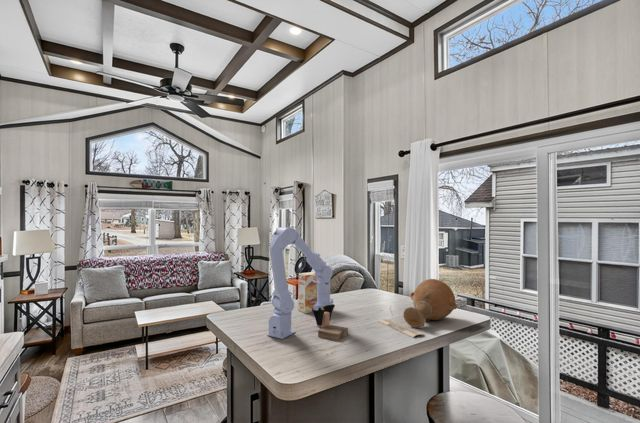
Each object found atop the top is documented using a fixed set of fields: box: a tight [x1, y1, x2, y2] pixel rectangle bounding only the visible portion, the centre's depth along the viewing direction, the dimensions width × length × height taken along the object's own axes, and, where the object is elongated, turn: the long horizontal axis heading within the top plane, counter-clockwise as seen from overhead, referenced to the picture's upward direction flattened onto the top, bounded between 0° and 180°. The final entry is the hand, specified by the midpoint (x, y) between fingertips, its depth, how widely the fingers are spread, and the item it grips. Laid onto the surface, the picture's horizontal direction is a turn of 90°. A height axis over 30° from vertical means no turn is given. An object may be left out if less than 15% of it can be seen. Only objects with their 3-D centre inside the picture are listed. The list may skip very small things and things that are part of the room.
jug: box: [402, 278, 458, 329], centre depth 154 cm, size 20×19×30 cm
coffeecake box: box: [297, 271, 324, 314], centre depth 173 cm, size 15×7×20 cm, turn 126°
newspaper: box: [378, 318, 425, 339], centre depth 143 cm, size 24×7×2 cm, turn 26°
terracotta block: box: [316, 312, 331, 329], centre depth 145 cm, size 4×4×6 cm
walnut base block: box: [317, 324, 349, 342], centre depth 134 cm, size 9×9×3 cm
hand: (323, 322), depth 145 cm, fingers open, 7 cm apart
